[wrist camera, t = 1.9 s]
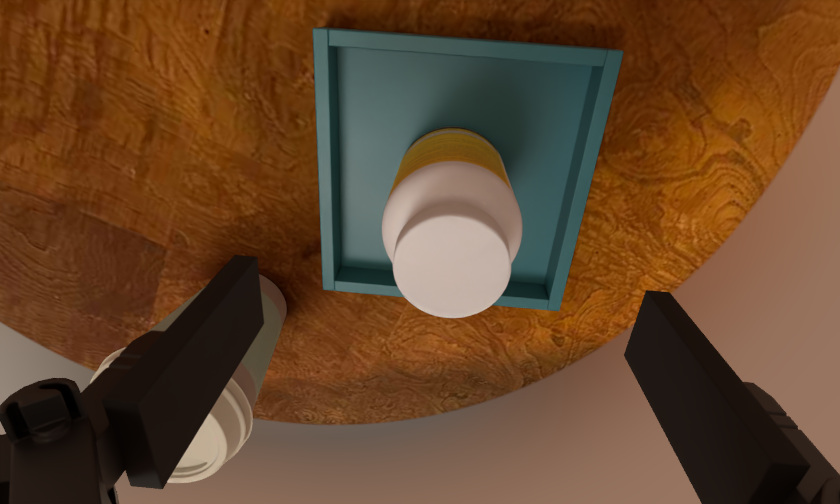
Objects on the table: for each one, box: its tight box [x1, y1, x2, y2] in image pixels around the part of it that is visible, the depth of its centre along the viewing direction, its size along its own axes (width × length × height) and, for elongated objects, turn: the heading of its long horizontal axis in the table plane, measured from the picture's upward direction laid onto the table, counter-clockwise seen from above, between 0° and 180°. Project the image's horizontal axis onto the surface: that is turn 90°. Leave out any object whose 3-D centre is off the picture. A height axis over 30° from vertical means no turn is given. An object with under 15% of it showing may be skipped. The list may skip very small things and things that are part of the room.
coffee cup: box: [90, 274, 287, 483], centre depth 28 cm, size 8×9×12 cm
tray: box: [313, 27, 624, 311], centre depth 27 cm, size 16×16×2 cm
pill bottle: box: [382, 126, 522, 318], centre depth 23 cm, size 6×6×12 cm
